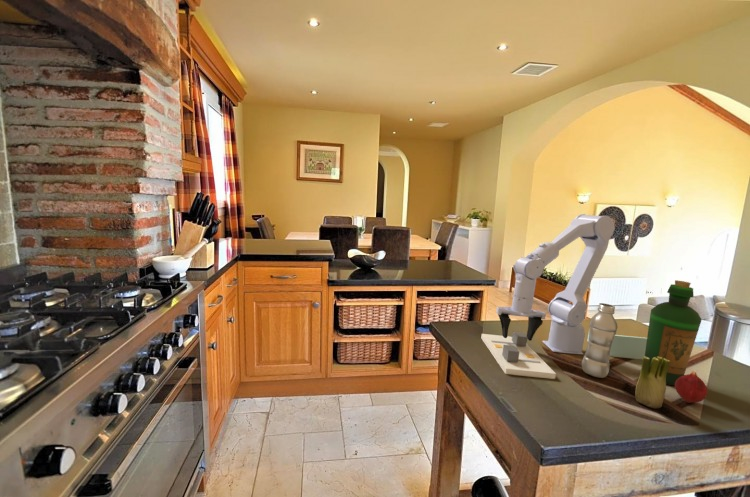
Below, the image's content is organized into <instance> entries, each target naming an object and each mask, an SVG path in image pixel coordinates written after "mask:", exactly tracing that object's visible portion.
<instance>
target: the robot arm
mask: <svg viewBox="0 0 750 497" xmlns="http://www.w3.org/2000/svg"><path fill="white" fill-rule="evenodd" d="M615 229H616V226H615V224H614V221H613V219H612V218H611V217H610V216H608V215H595V214H594V215H593V214H592V215H591V214H585V213H584V214H578V215H577V216H575V218H573V219H571V221H570V224H569V225H568V226H567V227H566V228H565V229H564V230H563V231H561V233H559V234H558V235H557V236H556V237H555V238H554V239H553V240H552V241H551V242H550V241H545V242H541V243H540V244H538V247H537V248H535V249H534V250H533V251H531V252H530V253H528V254H527V255H526V256H524V257H520V258H518V259H517V260H516V261H515V263H514V264H513V267H512V268H513V271H514V273H515V284H514V289H513V294H512V302H511V306H496V311H495V313H496V315H498V317H499V321H500V325H501V334H502V335H501V336H503V337H504V338H507V336H509V335H508V332H509V328H510V323H511V321H512V319H511V318H510V316H514V317H522V318H523V317H525V318H528V322H527V331H526V332H527V333H526V336H527V337H528V338H527V341H531V342H532V340H533V338H534V336H535V334H536V332H537V331H538V329H539V328H540V327H542V325H543V320H546V315H547V313H546V312H544V311H542V310H536V309H533V303H534V296H535V291H536V284H537V279H538V278H539V277H541V276H542V275H543V272H544V269H545V268H546V267H547V266H548V265H550V263H552V262H553V261H554V260H555V259H557V258H558V257H559V255H560V250H563V249H564V248H565V247H567V246H568V245H570V244H571V243H573V242H574V241H575V240H578V238H579V239H581V241H582V242H583V243H584V245H585V248H584V250H583V251H582V254H581V255H580V258H579V261H578V262H577V264H576V266H575V268H574V271H573V272H572V275H571V277H570V279H569V280H568V282H567V284H566V286H565V289H564V290H562V291H560V292H557V293H556V294H555V296H554V298H552V299H551V301H550V302H549V303H548V306H547V311H548V313H549V315H550V319H551V322H550V329H549V333H548V339H547V340H542V343H543V344H544V345H545V346H546V347H548V349H550V350H551V351H552V352H554V353H562V354H572V355H573V354H574V355H583V356H584V353H583V347H584V344H585V337H586V330H585V327H584V325H582V323H583V322H584V320H585V318H586V311H587V308H588V304H587V303H586V301H585V299H584V296H585V295H586V292H587V290H588V288H589V286H590V284H591V283H592V280H593V278H594V276H595V274H596V272H597V270H598V268H599V267H600V265H601V264H600V263H601V262H602V259H603V258H604V256H605V254H606V252H607V250H608V248H609V242H610V240H611V238H612V236H613V234H614V231H615Z"/></svg>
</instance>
